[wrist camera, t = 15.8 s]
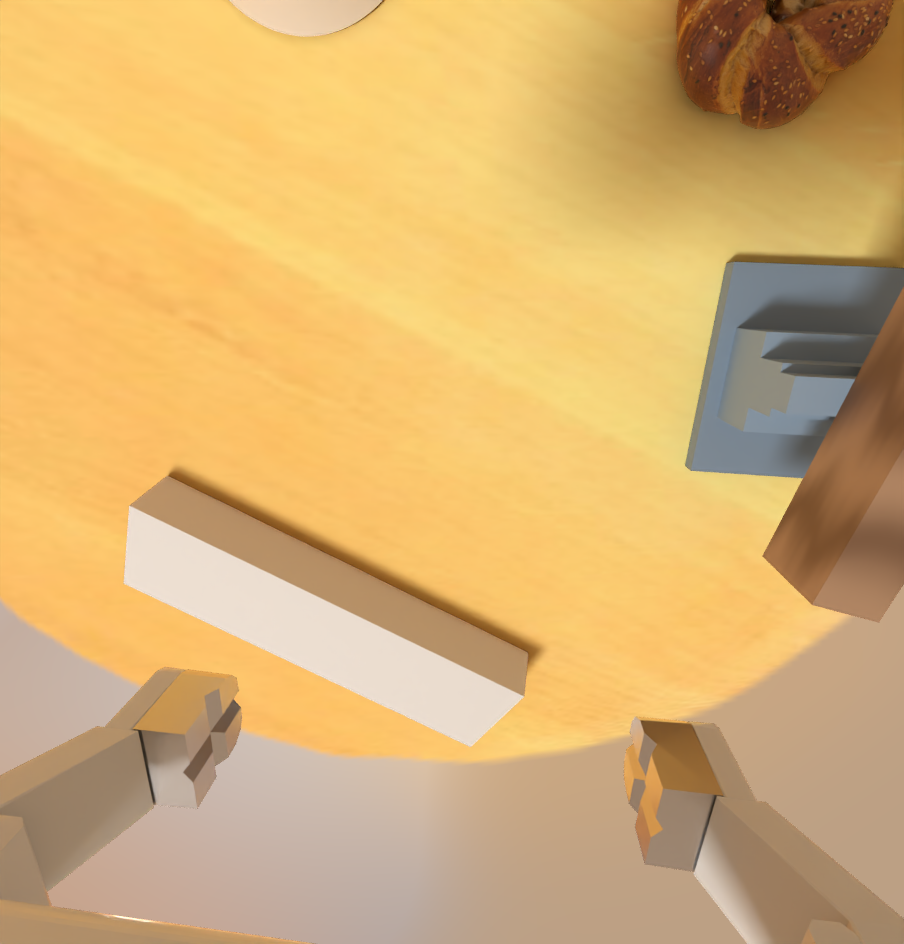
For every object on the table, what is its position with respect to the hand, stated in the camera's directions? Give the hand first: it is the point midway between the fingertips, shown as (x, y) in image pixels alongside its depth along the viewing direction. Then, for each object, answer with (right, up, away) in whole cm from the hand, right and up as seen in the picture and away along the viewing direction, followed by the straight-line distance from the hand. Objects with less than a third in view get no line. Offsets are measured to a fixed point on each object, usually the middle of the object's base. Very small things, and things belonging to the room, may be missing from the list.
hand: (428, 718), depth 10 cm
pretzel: (+19, +31, +19) cm, 41 cm away
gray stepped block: (+24, +12, +25) cm, 36 cm away
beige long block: (-10, -7, +35) cm, 37 cm away
